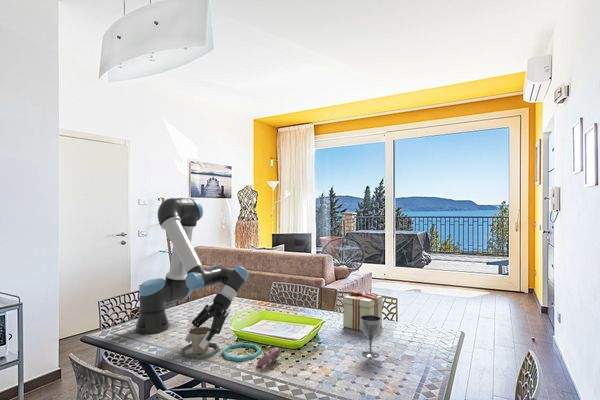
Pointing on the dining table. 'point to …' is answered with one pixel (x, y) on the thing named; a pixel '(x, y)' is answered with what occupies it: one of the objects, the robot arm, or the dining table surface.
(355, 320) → the gift box
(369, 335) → the wine glass
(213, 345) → the collar
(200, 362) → the dining table surface
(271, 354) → the pink toy animal
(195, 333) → the flower pot
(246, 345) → the collar
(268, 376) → the dining table surface
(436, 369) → the dining table surface
